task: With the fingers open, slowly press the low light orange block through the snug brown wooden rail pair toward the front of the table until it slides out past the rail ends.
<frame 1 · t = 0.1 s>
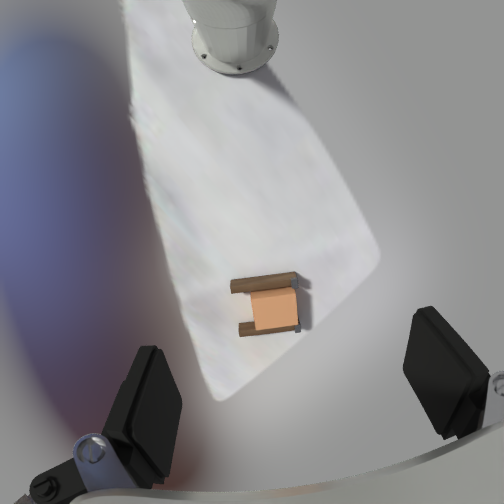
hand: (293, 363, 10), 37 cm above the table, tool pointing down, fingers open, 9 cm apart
brown wooden rail pair: (266, 301, 51), on the table
light orange block: (273, 300, 51), on the table
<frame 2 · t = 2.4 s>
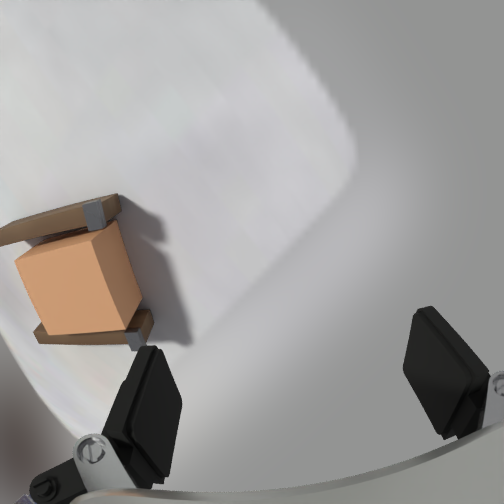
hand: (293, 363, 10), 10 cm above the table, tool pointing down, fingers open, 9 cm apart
brown wooden rail pair: (75, 271, 20), on the table
light orange block: (89, 268, 20), on the table
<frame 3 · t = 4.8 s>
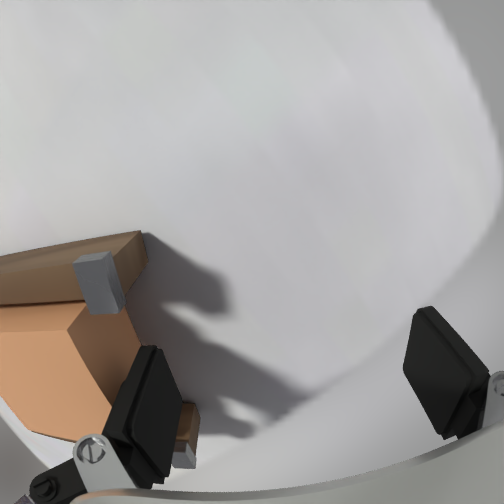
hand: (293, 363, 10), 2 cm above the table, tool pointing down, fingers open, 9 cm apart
brown wooden rail pair: (72, 346, 12), on the table
light orange block: (76, 338, 12), on the table, touching gripper
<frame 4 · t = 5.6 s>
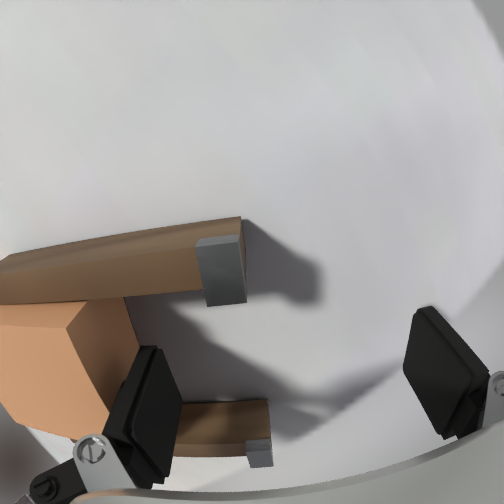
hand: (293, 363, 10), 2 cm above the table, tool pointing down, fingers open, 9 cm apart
brown wooden rail pair: (135, 347, 12), on the table
light orange block: (71, 333, 12), on the table
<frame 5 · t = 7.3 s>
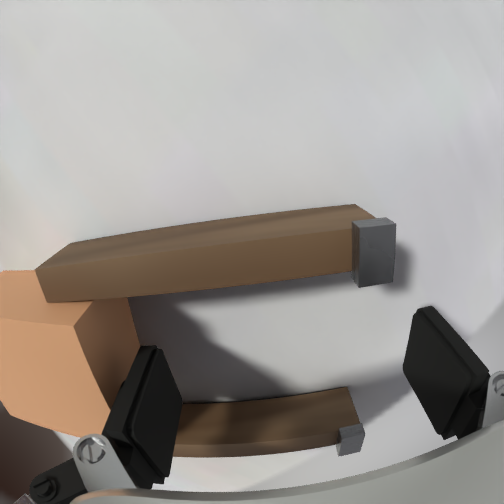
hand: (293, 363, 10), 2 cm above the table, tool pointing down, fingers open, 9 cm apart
brown wooden rail pair: (223, 342, 12), on the table
light orange block: (71, 328, 12), on the table
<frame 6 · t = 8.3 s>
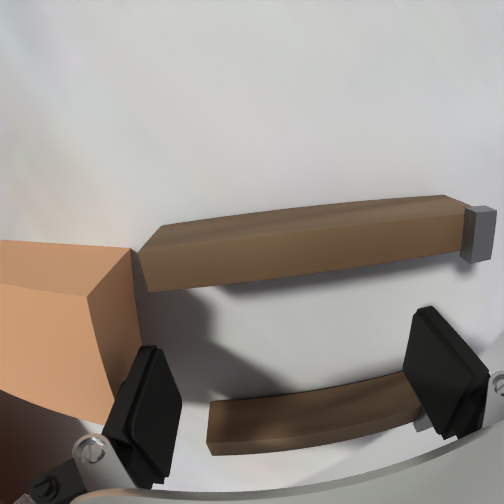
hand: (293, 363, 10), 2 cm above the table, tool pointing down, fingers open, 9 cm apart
brown wooden rail pair: (321, 328, 12), on the table
light orange block: (71, 303, 12), on the table, touching gripper
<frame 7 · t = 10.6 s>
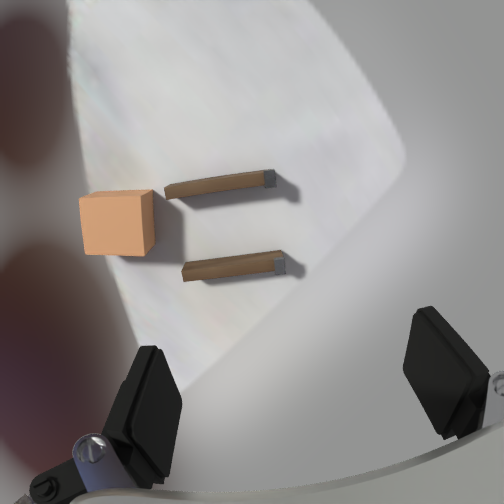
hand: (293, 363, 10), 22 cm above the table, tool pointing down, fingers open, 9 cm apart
brown wooden rail pair: (227, 222, 31), on the table
light orange block: (124, 217, 31), on the table
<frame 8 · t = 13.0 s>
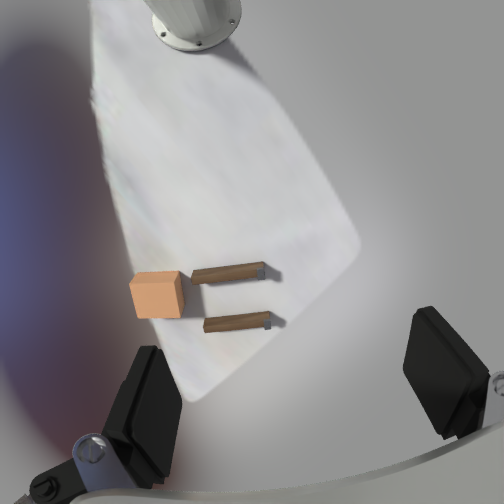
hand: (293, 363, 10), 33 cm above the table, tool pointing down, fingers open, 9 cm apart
brown wooden rail pair: (232, 294, 47), on the table
light orange block: (161, 288, 46), on the table
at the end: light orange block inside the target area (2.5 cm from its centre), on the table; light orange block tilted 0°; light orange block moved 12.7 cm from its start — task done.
